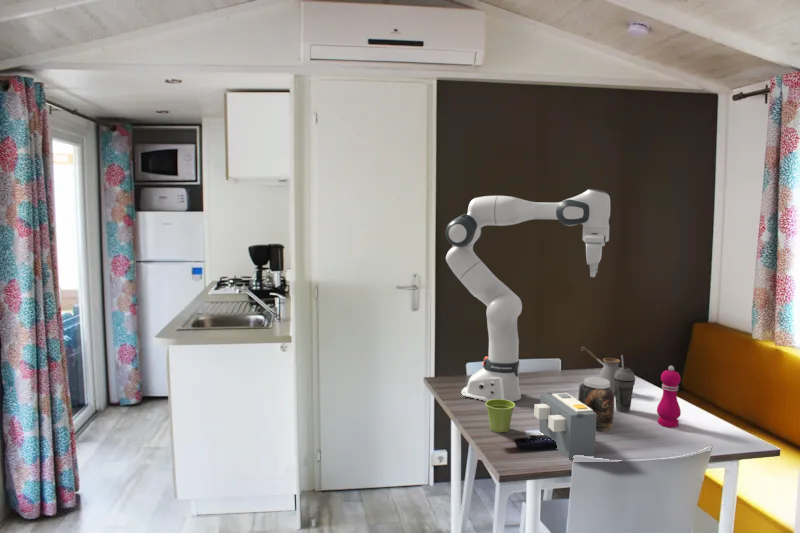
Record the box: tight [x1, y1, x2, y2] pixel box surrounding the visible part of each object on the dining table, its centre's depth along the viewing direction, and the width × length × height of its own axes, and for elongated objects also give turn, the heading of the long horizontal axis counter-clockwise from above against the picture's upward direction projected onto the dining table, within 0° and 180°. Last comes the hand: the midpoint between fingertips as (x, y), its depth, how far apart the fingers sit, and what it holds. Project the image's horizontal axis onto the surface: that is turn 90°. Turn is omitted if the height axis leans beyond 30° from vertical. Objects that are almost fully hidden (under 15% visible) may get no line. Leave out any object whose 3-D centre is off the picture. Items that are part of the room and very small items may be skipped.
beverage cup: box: [614, 354, 636, 414], centre depth 212 cm, size 7×7×20 cm
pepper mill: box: [656, 365, 682, 429], centre depth 199 cm, size 7×7×20 cm
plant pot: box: [485, 399, 516, 434], centre depth 194 cm, size 9×9×9 cm
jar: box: [577, 376, 615, 432], centre depth 199 cm, size 12×12×15 cm
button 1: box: [533, 403, 551, 421], centre depth 185 cm, size 5×4×4 cm
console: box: [538, 391, 597, 460], centre depth 182 cm, size 8×20×14 cm, turn 12°
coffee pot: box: [580, 346, 621, 392], centre depth 238 cm, size 21×12×15 cm, turn 28°
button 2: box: [548, 415, 566, 432], centre depth 176 cm, size 5×4×4 cm
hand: (593, 275), depth 212 cm, fingers open, 8 cm apart
